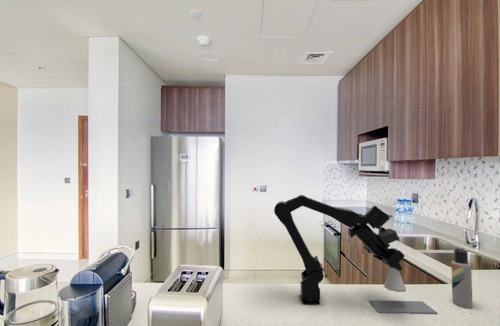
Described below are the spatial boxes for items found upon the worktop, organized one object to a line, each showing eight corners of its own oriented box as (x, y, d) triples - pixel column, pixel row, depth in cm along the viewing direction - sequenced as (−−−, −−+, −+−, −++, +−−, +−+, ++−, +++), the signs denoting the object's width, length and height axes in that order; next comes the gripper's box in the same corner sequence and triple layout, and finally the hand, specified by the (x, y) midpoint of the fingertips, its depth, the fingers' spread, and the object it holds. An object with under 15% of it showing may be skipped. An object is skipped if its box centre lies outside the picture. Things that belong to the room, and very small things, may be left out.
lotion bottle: (468, 302, 95) (466, 248, 96) (475, 309, 90) (473, 252, 90) (449, 299, 97) (448, 246, 98) (456, 306, 91) (454, 250, 92)
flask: (409, 294, 88) (408, 264, 89) (386, 291, 90) (386, 263, 90) (402, 285, 95) (401, 258, 96) (381, 283, 97) (380, 256, 97)
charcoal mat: (378, 313, 87) (378, 311, 87) (368, 301, 95) (368, 300, 95) (437, 314, 86) (437, 312, 86) (422, 302, 94) (422, 301, 94)
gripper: (398, 227, 84) (431, 261, 84) (371, 217, 103) (398, 245, 103) (374, 250, 84) (408, 285, 84) (352, 236, 103) (379, 264, 102)
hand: (398, 268), depth 93 cm, fingers closed on flask, 3 cm apart
